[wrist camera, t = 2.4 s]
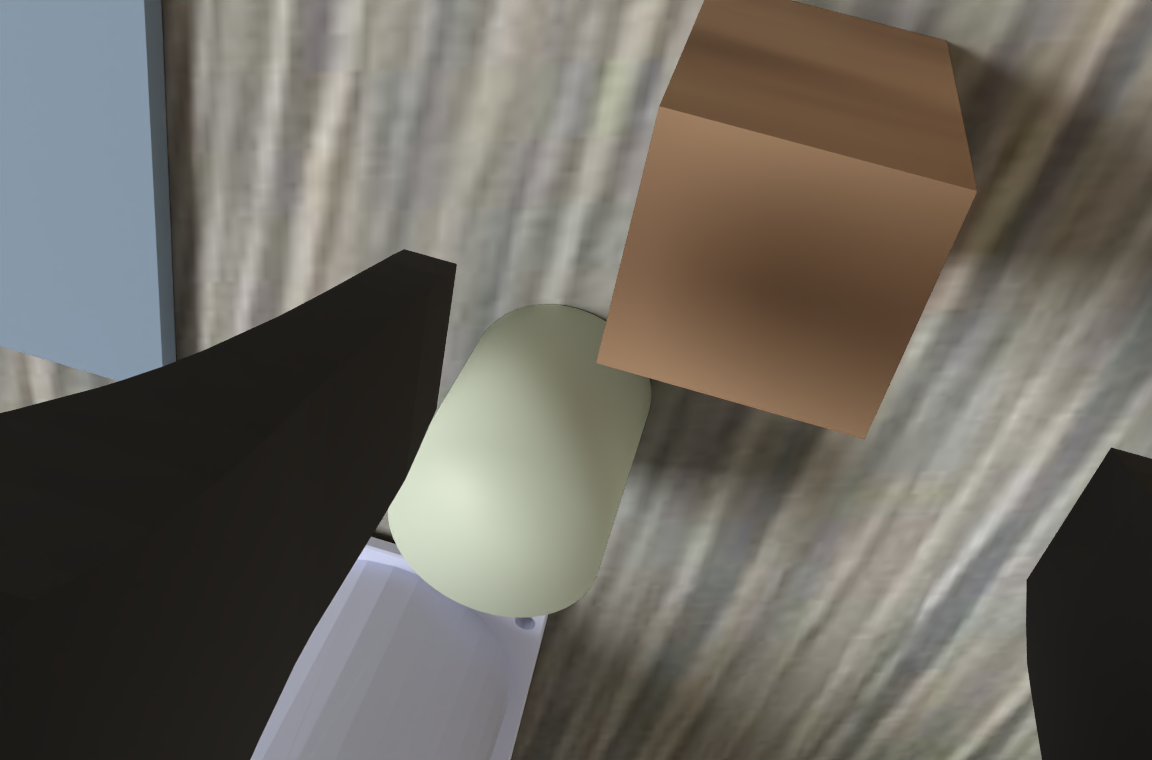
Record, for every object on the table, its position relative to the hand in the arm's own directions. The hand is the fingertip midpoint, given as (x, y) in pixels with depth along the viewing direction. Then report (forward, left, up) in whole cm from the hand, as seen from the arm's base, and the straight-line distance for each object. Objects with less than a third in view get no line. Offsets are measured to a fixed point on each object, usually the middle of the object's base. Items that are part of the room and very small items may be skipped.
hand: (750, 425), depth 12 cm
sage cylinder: (-7, +3, -9) cm, 12 cm away
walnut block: (0, 0, -9) cm, 9 cm away
